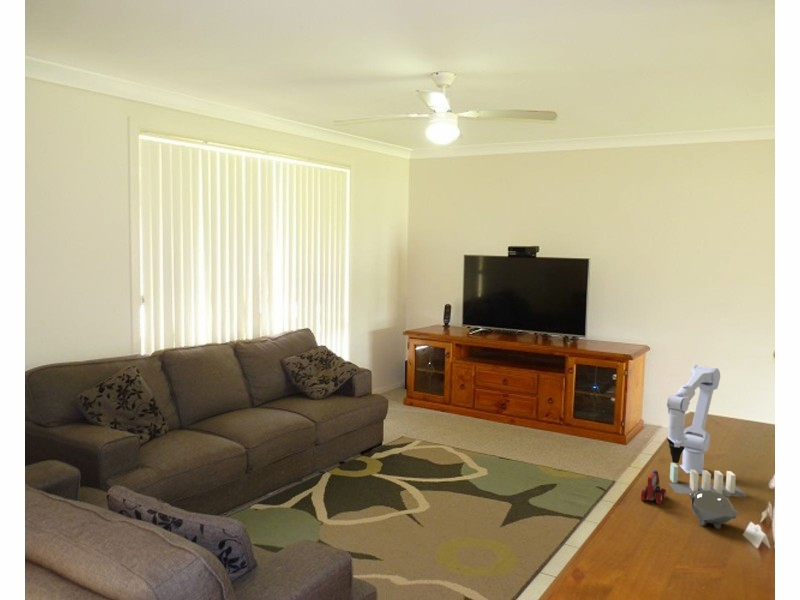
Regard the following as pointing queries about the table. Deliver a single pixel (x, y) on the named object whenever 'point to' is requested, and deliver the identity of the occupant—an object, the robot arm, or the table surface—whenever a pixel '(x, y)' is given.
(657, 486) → the toy fire truck
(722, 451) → the table surface
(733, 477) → the tile
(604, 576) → the table surface
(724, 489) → the runner mat
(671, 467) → the pale green tile
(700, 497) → the piggy bank
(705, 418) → the robot arm
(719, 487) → the tile
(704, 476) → the tile
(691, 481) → the tile
